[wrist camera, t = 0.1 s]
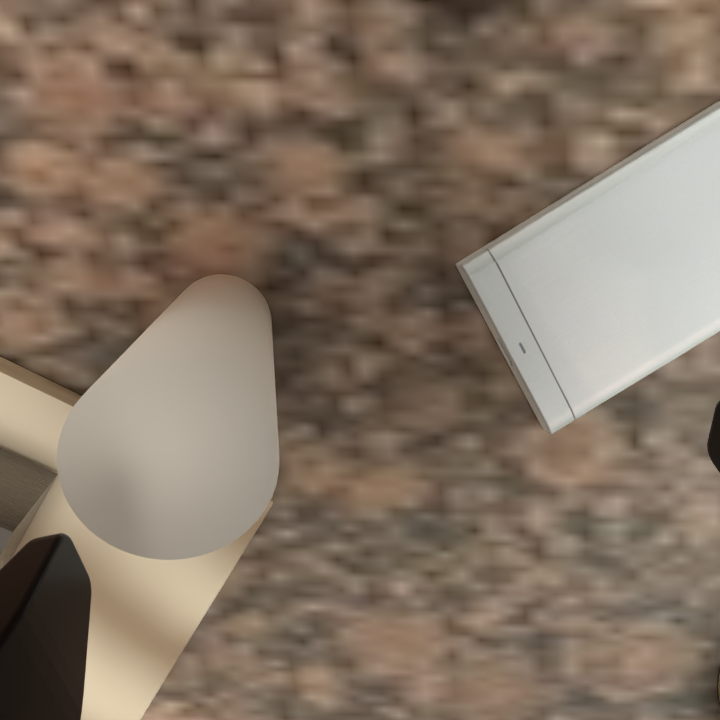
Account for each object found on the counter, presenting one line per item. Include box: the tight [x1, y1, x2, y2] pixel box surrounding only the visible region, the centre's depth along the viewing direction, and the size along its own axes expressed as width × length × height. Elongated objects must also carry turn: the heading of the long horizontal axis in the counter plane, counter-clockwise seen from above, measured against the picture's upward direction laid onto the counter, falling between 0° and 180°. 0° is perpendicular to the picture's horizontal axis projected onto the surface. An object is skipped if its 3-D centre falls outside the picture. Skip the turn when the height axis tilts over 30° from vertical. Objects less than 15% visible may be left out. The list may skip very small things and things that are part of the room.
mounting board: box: [0, 357, 274, 720], centre depth 23 cm, size 13×14×1 cm
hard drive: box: [456, 101, 720, 434], centre depth 24 cm, size 2×8×12 cm
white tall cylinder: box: [57, 274, 280, 560], centre depth 16 cm, size 4×4×13 cm
